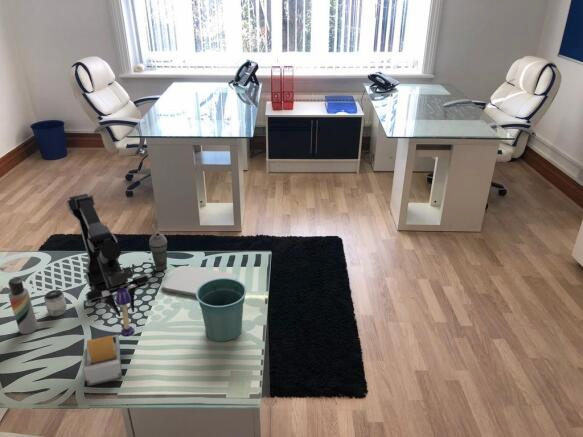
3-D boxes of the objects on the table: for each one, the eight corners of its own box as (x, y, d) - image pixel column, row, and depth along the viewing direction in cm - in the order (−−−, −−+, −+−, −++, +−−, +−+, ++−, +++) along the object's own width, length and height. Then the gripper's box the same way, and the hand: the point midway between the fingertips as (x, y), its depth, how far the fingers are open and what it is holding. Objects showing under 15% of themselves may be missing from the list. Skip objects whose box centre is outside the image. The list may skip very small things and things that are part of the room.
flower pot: (190, 326, 165) (187, 288, 157) (231, 309, 174) (230, 272, 166) (214, 353, 153) (211, 313, 146) (257, 333, 162) (256, 294, 155)
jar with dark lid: (68, 313, 170) (64, 295, 166) (49, 319, 167) (44, 300, 164) (65, 304, 175) (61, 286, 171) (47, 309, 172) (42, 291, 168)
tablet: (223, 303, 177) (222, 298, 176) (159, 291, 183) (159, 286, 182) (238, 279, 191) (238, 274, 190) (179, 269, 197) (178, 264, 196)
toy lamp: (131, 325, 157) (123, 283, 149) (139, 331, 154) (132, 289, 147) (118, 332, 154) (110, 290, 146) (126, 339, 151) (118, 296, 143)
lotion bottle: (23, 323, 165) (9, 275, 155) (40, 323, 165) (27, 274, 156) (16, 334, 159) (1, 285, 150) (34, 334, 160) (19, 284, 151)
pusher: (91, 360, 148) (86, 340, 144) (115, 355, 150) (112, 335, 147) (91, 363, 147) (86, 343, 143) (116, 357, 149) (112, 337, 146)
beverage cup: (165, 273, 194) (160, 229, 185) (149, 271, 195) (142, 227, 186) (173, 263, 200) (168, 221, 191) (157, 261, 201) (151, 219, 192)
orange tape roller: (88, 346, 155) (84, 331, 152) (119, 339, 158) (116, 325, 155) (87, 386, 140) (83, 371, 137) (121, 378, 143) (119, 363, 140)
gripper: (81, 270, 141) (98, 320, 138) (143, 252, 150) (160, 298, 147) (79, 279, 150) (95, 326, 147) (138, 262, 160) (153, 306, 157)
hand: (126, 314), depth 149 cm, fingers closed on toy lamp, 4 cm apart
